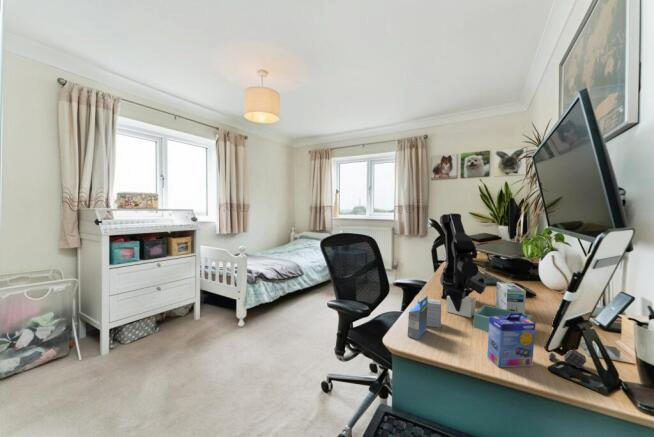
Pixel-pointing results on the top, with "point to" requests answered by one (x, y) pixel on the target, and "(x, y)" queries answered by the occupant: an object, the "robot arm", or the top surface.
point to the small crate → (462, 306)
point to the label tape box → (418, 319)
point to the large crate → (485, 311)
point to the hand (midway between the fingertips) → (460, 309)
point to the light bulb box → (510, 297)
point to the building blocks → (571, 358)
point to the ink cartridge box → (511, 340)
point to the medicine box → (433, 312)
